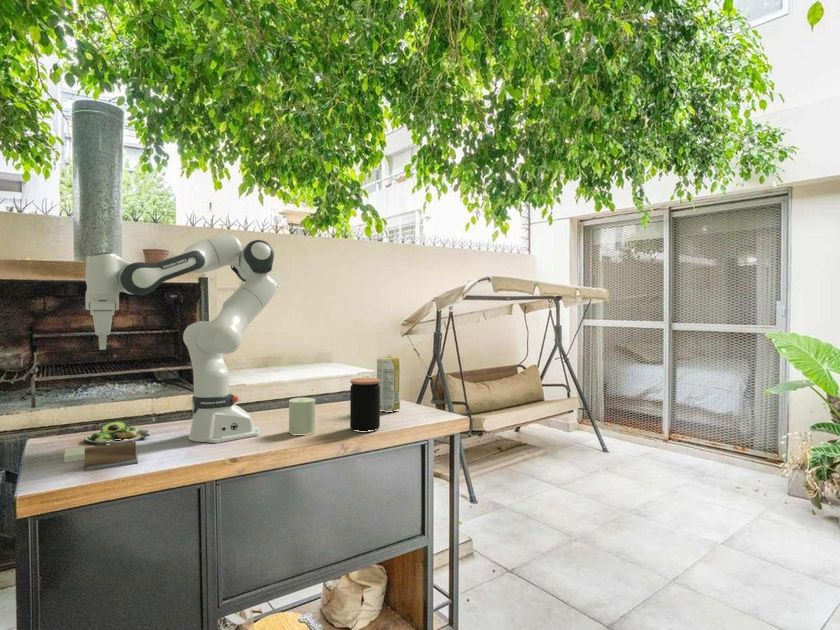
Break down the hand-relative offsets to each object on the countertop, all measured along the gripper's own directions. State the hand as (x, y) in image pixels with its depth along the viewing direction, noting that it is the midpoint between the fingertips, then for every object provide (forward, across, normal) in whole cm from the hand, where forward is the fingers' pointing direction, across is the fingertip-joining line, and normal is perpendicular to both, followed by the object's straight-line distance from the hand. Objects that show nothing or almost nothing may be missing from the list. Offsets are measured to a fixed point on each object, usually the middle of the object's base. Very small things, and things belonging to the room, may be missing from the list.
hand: (102, 348), depth 155 cm
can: (+31, +17, +59) cm, 69 cm away
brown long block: (+30, +22, +2) cm, 37 cm away
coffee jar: (+31, +24, +80) cm, 89 cm away
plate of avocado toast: (+31, -8, +4) cm, 33 cm away
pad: (+31, +22, +2) cm, 38 cm away
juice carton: (+31, +2, +102) cm, 107 cm away
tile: (+30, +14, -6) cm, 34 cm away
